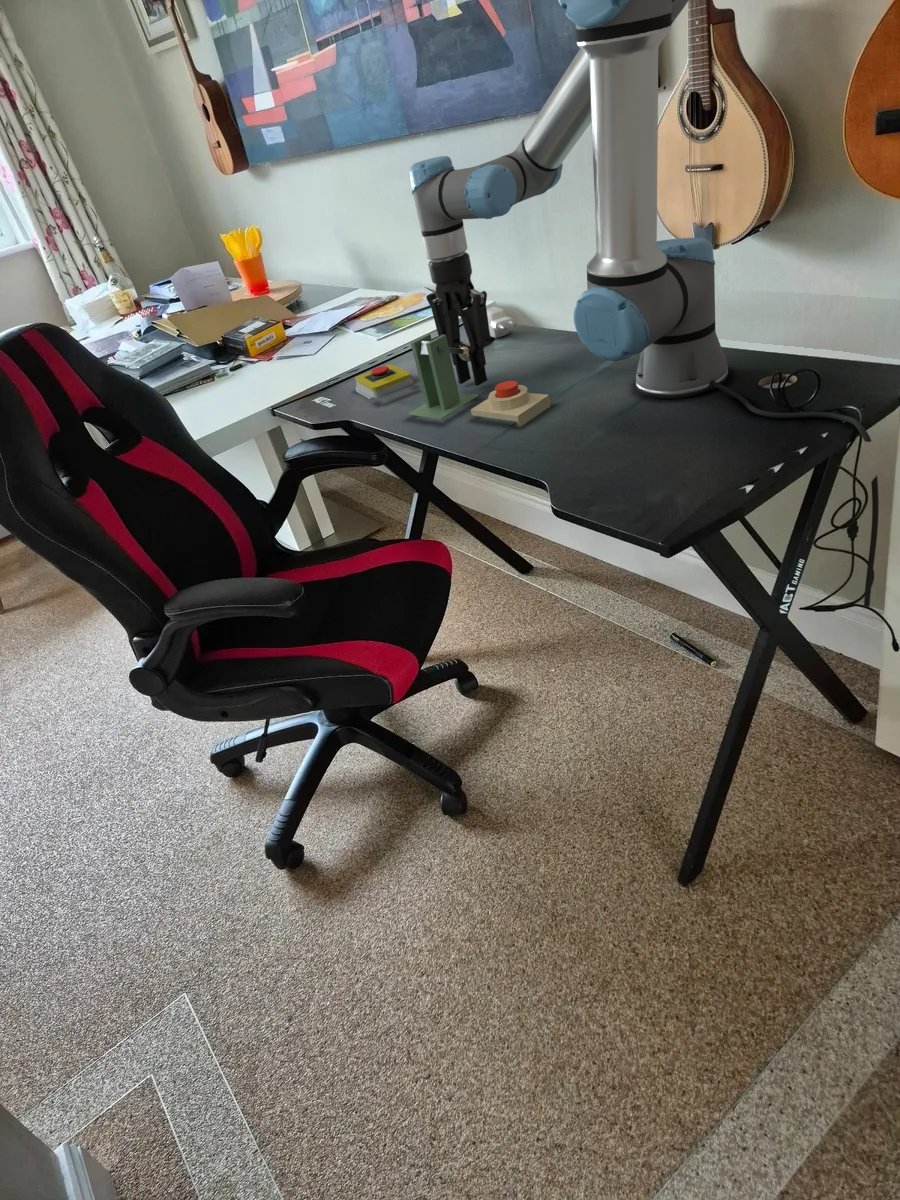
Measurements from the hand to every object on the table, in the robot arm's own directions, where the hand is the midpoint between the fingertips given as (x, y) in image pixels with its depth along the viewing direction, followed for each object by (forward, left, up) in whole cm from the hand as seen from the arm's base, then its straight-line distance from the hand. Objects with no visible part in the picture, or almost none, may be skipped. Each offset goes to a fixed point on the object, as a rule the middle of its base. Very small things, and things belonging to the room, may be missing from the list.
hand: (473, 381), depth 152 cm
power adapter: (+16, -28, -2) cm, 32 cm away
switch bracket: (0, +9, -2) cm, 9 cm away
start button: (-15, +7, +2) cm, 17 cm away
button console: (-15, +7, -2) cm, 17 cm away
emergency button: (+22, +4, -2) cm, 22 cm away
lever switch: (0, +5, +6) cm, 8 cm away
